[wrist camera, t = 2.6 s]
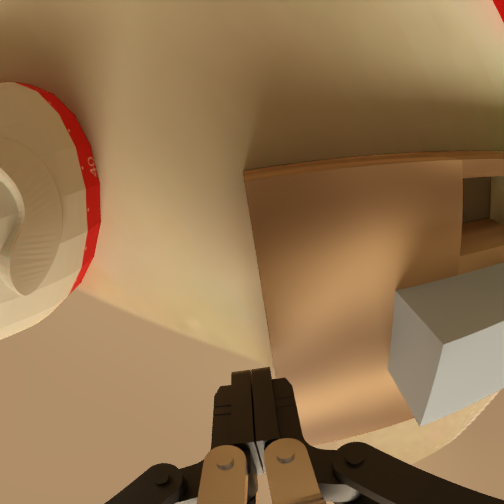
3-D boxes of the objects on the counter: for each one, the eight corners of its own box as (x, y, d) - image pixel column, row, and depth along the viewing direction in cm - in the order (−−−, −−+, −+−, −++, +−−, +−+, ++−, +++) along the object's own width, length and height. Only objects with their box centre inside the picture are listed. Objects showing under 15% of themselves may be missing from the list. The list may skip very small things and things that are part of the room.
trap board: (242, 170, 14) (246, 190, 9) (550, 153, 14) (607, 167, 8) (280, 404, 19) (291, 477, 14) (526, 324, 19) (565, 359, 13)
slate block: (394, 290, 12) (443, 344, 8) (504, 261, 12) (555, 295, 8) (387, 369, 14) (419, 427, 10) (489, 333, 14) (528, 373, 10)
